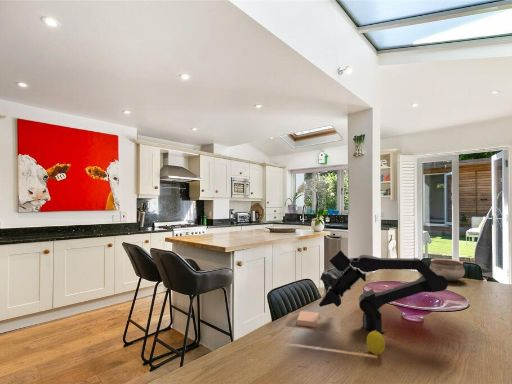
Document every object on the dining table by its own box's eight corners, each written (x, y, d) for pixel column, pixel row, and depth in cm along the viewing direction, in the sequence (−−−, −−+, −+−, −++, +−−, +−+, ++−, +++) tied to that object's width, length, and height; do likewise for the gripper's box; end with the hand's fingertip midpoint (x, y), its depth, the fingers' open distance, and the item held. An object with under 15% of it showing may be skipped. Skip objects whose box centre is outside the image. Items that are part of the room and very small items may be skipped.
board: (340, 320, 123) (340, 318, 123) (340, 334, 110) (340, 332, 110) (289, 314, 129) (289, 312, 129) (282, 327, 116) (282, 325, 116)
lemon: (369, 349, 99) (369, 325, 99) (387, 355, 95) (386, 330, 96) (364, 356, 94) (363, 331, 95) (382, 362, 91) (381, 336, 91)
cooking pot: (445, 286, 174) (444, 265, 175) (419, 278, 192) (419, 259, 193) (476, 282, 181) (475, 263, 182) (448, 275, 200) (448, 257, 200)
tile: (318, 312, 124) (300, 310, 126) (316, 322, 114) (297, 319, 116) (318, 317, 124) (300, 315, 126) (316, 327, 114) (297, 325, 116)
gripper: (332, 260, 127) (307, 284, 130) (330, 269, 109) (302, 297, 112) (352, 279, 124) (326, 303, 127) (353, 292, 107) (323, 320, 109)
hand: (319, 305), depth 119 cm, fingers closed
